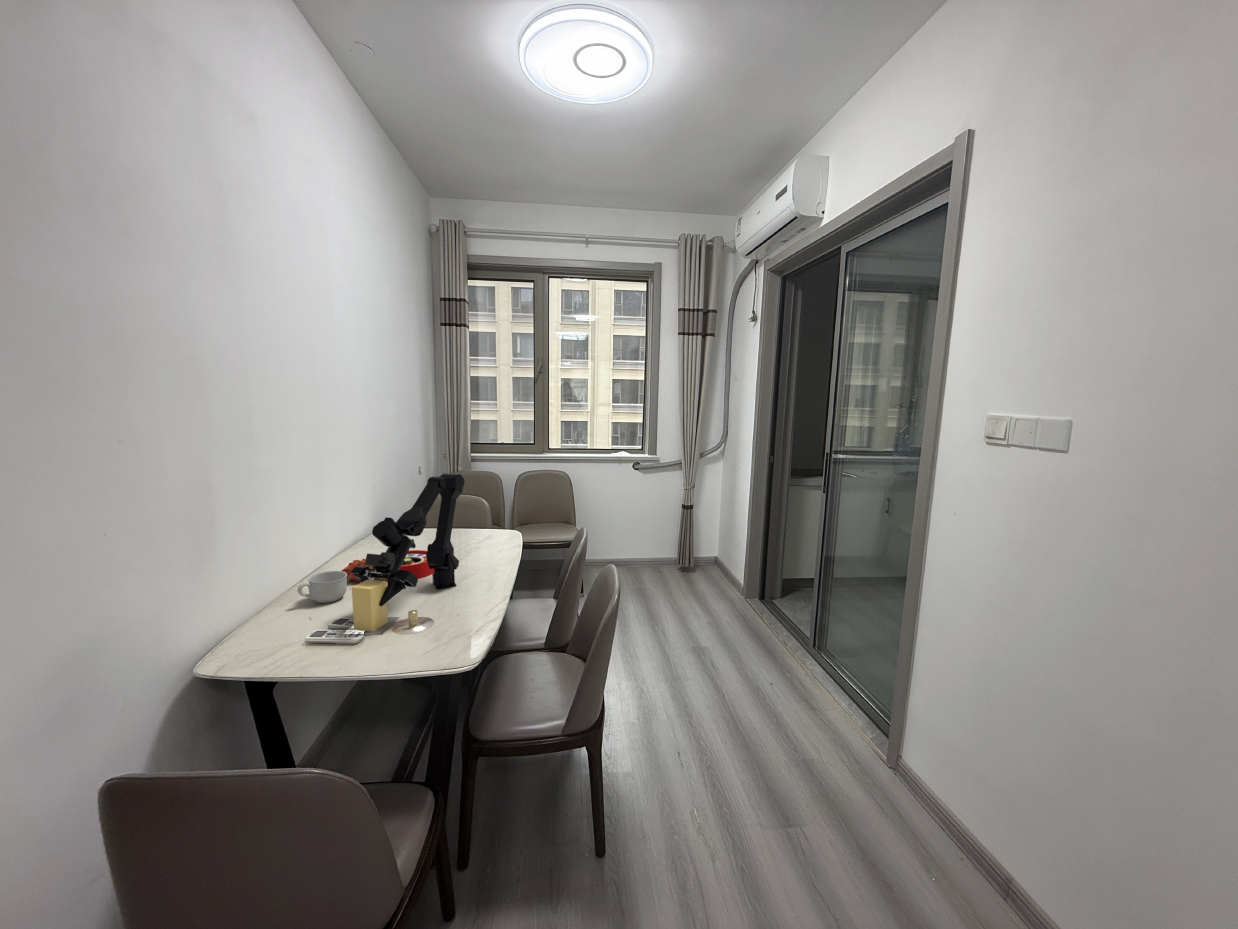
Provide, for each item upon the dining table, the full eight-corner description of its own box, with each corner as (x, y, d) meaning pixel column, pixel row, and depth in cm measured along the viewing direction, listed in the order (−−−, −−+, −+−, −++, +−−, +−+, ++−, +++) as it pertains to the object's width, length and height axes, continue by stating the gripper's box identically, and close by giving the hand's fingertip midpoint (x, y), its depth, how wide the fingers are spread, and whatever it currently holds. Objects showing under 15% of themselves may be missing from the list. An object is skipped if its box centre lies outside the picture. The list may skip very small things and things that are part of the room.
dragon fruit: (380, 583, 173) (343, 592, 169) (380, 564, 179) (344, 572, 175) (374, 570, 167) (336, 579, 163) (374, 551, 173) (336, 559, 169)
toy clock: (443, 558, 179) (386, 570, 166) (444, 574, 180) (387, 587, 166) (423, 547, 194) (369, 557, 180) (424, 561, 195) (370, 572, 181)
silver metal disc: (430, 614, 142) (429, 600, 142) (438, 629, 133) (437, 614, 132) (389, 623, 136) (388, 609, 136) (394, 639, 127) (394, 623, 126)
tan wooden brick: (370, 619, 138) (367, 579, 136) (388, 622, 136) (386, 581, 135) (354, 629, 132) (351, 587, 131) (372, 631, 131) (370, 589, 129)
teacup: (342, 590, 162) (341, 567, 161) (352, 599, 155) (351, 575, 154) (294, 602, 153) (292, 577, 152) (302, 612, 145) (300, 587, 144)
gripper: (353, 538, 139) (324, 589, 130) (409, 543, 134) (383, 596, 125) (374, 556, 147) (348, 605, 138) (428, 561, 143) (405, 612, 134)
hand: (370, 604), depth 134 cm, fingers closed on tan wooden brick, 6 cm apart
